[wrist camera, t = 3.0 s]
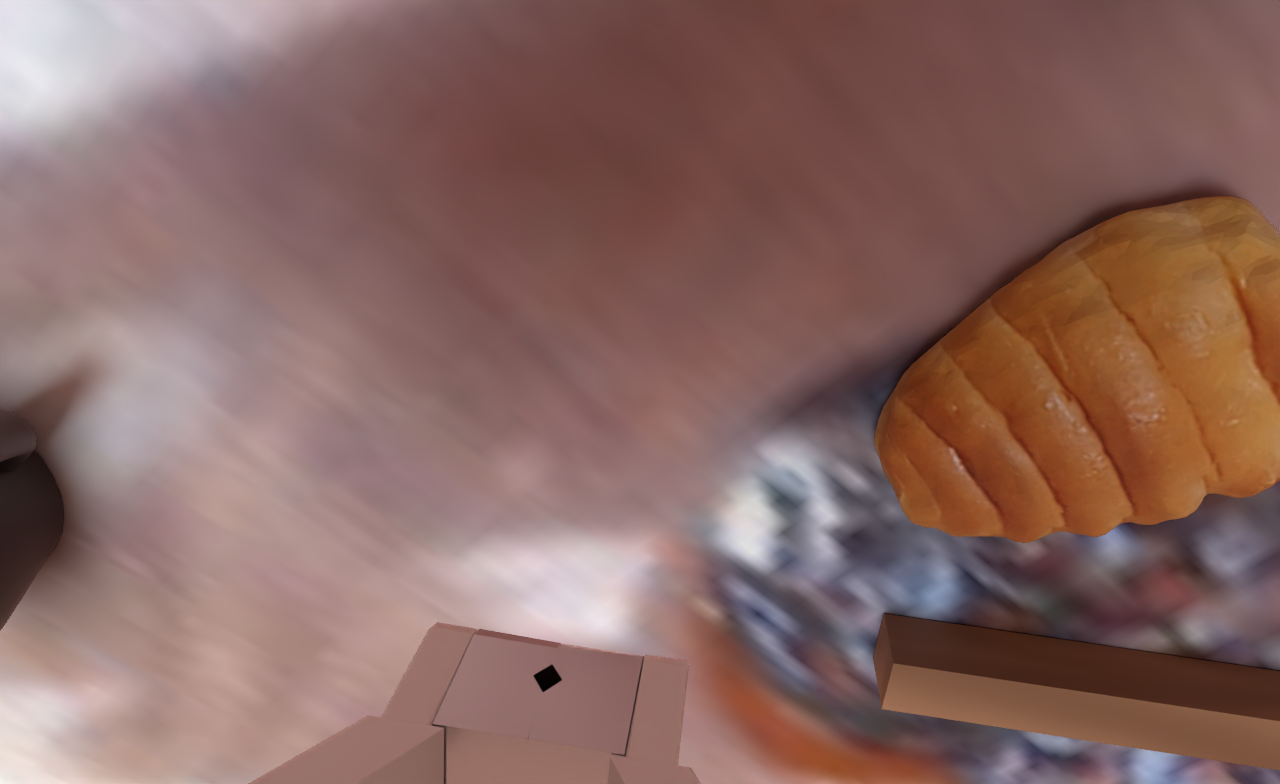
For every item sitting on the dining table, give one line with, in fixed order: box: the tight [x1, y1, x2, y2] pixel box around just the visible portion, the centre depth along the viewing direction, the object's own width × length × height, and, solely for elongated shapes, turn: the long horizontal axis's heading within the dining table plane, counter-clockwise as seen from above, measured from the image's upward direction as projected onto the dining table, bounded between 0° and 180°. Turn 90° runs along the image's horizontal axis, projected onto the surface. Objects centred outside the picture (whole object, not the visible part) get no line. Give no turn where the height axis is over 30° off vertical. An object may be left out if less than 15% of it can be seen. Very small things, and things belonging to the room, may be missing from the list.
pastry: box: [874, 196, 1280, 543], centre depth 20 cm, size 9×7×4 cm
